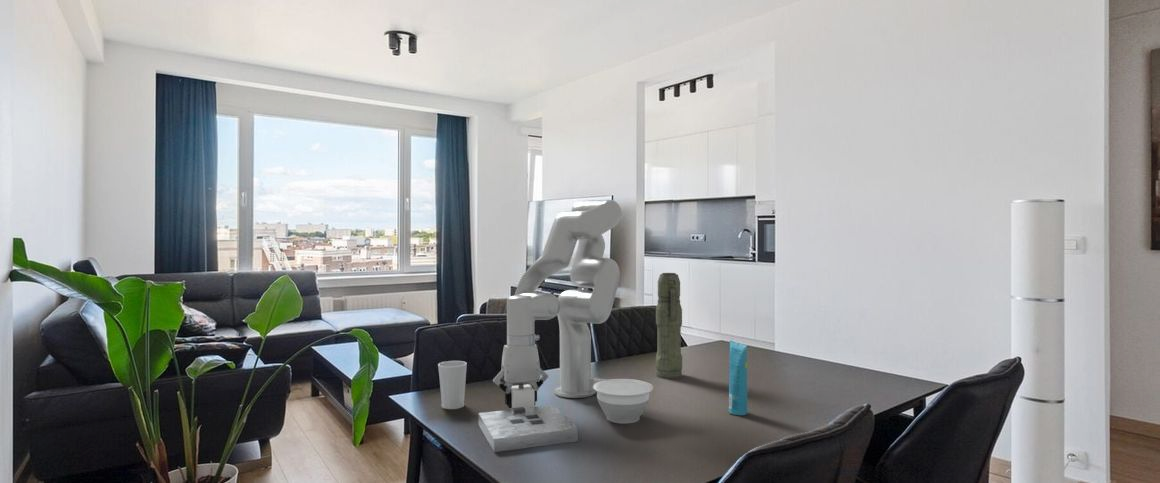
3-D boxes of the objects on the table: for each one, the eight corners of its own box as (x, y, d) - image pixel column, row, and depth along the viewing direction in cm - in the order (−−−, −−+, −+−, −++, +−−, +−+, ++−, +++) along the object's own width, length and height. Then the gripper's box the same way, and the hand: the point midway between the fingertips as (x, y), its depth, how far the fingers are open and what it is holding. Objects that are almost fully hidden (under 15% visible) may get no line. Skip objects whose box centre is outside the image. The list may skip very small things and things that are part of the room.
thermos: (663, 380, 195) (663, 274, 194) (650, 372, 206) (650, 272, 206) (688, 379, 197) (688, 274, 196) (674, 370, 209) (673, 271, 208)
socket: (553, 416, 159) (552, 402, 158) (577, 441, 140) (577, 425, 140) (478, 424, 152) (478, 410, 152) (494, 452, 133) (493, 435, 133)
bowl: (583, 413, 161) (583, 382, 161) (635, 406, 167) (635, 376, 167) (609, 431, 146) (609, 397, 146) (664, 423, 153) (664, 390, 152)
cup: (460, 410, 164) (460, 367, 163) (433, 409, 165) (433, 366, 165) (471, 402, 171) (471, 361, 171) (445, 401, 173) (445, 360, 173)
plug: (529, 407, 167) (528, 380, 166) (534, 413, 161) (534, 385, 161) (508, 409, 165) (507, 381, 164) (513, 415, 159) (512, 387, 159)
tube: (754, 415, 158) (754, 344, 158) (740, 418, 156) (740, 345, 156) (735, 408, 165) (735, 339, 164) (721, 410, 163) (721, 341, 162)
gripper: (547, 336, 169) (547, 398, 169) (486, 340, 163) (487, 405, 163) (554, 340, 162) (555, 406, 162) (492, 345, 156) (492, 413, 156)
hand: (521, 404), depth 163 cm, fingers closed on plug, 6 cm apart
